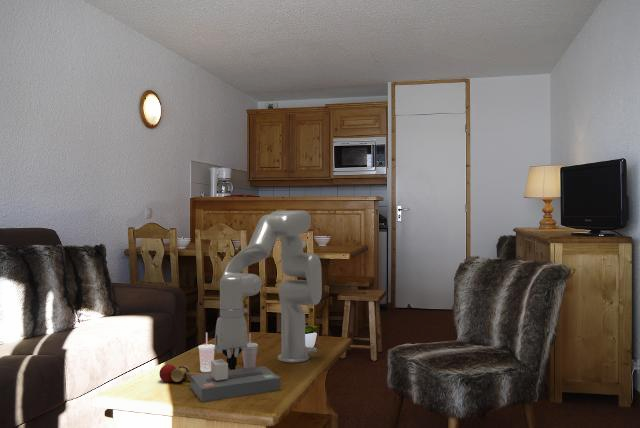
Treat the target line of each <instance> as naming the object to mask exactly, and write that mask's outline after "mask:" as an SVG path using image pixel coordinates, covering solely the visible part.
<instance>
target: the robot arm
mask: <svg viewBox="0 0 640 428" xmlns="http://www.w3.org/2000/svg"><path fill="white" fill-rule="evenodd" d="M311 225H312V218H311V215H310V213H309V212H307V211H306V210H275V211H272V212H271V213H270V214H268V213H267V214H264V215H263V216H261V217H260V218H259V220H258V222H257V225H256V227H255V229H254V231H253V234H252V236H251V238H250V240H249V243H248V244H247V246H246V247H244V248H243V249H241V250H240V251H239V252H238V253H237V254H235V255H234V256H233V257H232V258H231V259H230V260H229V261H228V263H227V265H226V267H225V269H224V271H223V274H222V276H221V278H220V280H219V317H218V318H217V320H216V325H215V332H214V333H215V334H214V335H215V336H214V345H215V349H214V352H216V353H217V354H222V355H224V356H225V357H226V362H227V363H228V370H237V368H236V367H237V366H238V360H237V358H238V357H239V355H240V354H241V353H242V351H244V350H246V349H248V347H247V343H249V336H248V328H247V320H246V317H245V314H246V313H248V309H247V308H244V297H246V296H248V297H249V296H250V297H251V296H255V295H257V294H259V292H260V291H261V290H262V286H263V281H262V279H261V277H260V276H259V275H257V274H255V273H245V272H243V270H245V269H246V268H247V267H250V266H251V265H253V264H256V263H258V262H261V261H263V260H265V259H267V258H269V256H270V255H271V252H272V250H273V248H274V245H275V243H276V240H277V238H278V239H279V241H280V247H281V248H280V250H281V251H280V252H281V271H282V273H283V274H284V275H285V276H287V277H295V278H296V277H297V278H305V279H306V280H305V279H287V280H284V281H282V282H281V283H280V285H279V286H278V297H279V303H280V310H281V311H280V313H281V315H280V316H281V317H280V318H281V320H280V321H281V323H280V324H281V327H280V329H281V335H280V336H281V353H280V354H278V355H277V360H278V361H279V362H282V363H291V364H294V363H303V362H306V361H308V360H309V359H310V355H309V354H310V353H312V354H313V353H317V347H311V346H310V347H309V346H306V313H305V311H304V308H303V306H305V305H307V306H316V305H318V304H320V301H321V300H322V295H323V288H322V287H323V283H322V282H323V279H322V277H323V276H322V263H321V259H320V257H319V256H318V255H317V254H316V253H313V252H311V253H310V252H308V253H307V252H304V250H303V239H302V237H301V234H305V233H307V232H308V231H309V230H310V227H311ZM302 305H303V306H302ZM231 349H232V351H231Z"/></svg>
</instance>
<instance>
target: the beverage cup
mask: <svg viewBox="0 0 640 428" xmlns="http://www.w3.org/2000/svg"><path fill="white" fill-rule="evenodd" d="M215 349H216V345H215V344H211V343H210V344H208V332H205V344H201V345H198V352H199V353H198V354H199V365H200V367H199V368H200V372H202V373H211V361H212V360H215Z"/></svg>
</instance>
